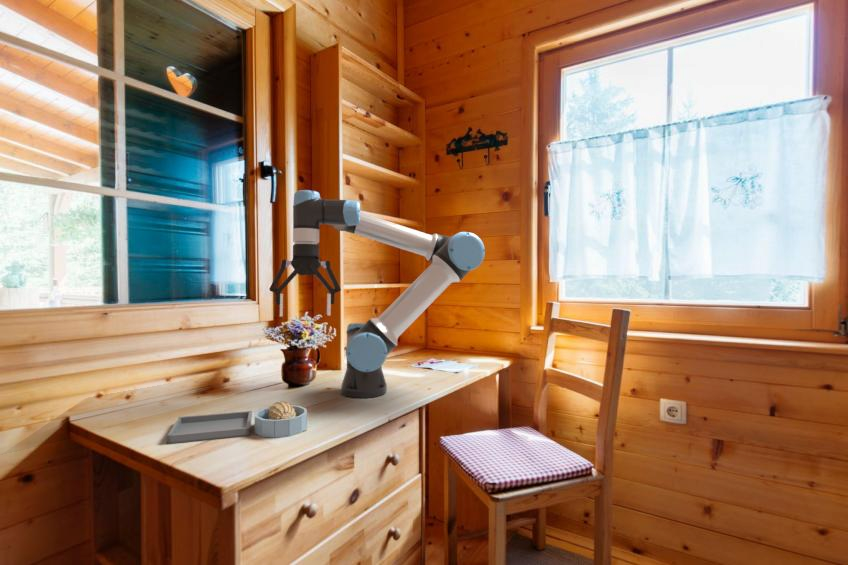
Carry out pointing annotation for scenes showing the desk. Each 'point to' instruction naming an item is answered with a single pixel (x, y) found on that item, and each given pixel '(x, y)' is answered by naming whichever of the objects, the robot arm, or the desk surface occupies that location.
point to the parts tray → (210, 427)
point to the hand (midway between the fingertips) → (305, 315)
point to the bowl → (280, 423)
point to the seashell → (281, 411)
